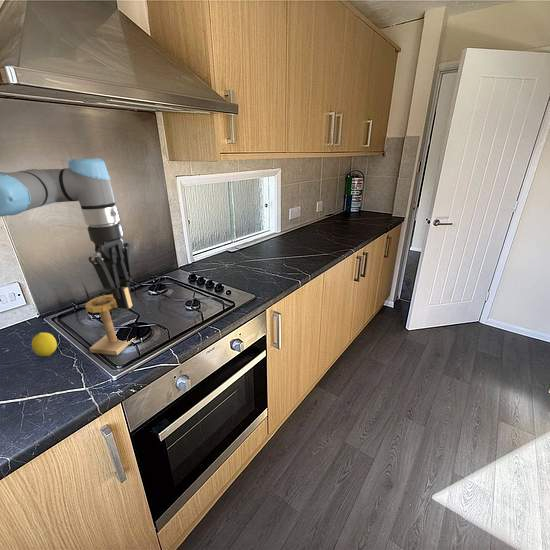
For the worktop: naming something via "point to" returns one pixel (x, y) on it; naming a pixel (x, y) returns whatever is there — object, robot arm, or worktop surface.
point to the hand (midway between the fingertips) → (125, 305)
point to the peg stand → (108, 335)
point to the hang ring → (110, 305)
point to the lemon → (44, 344)
